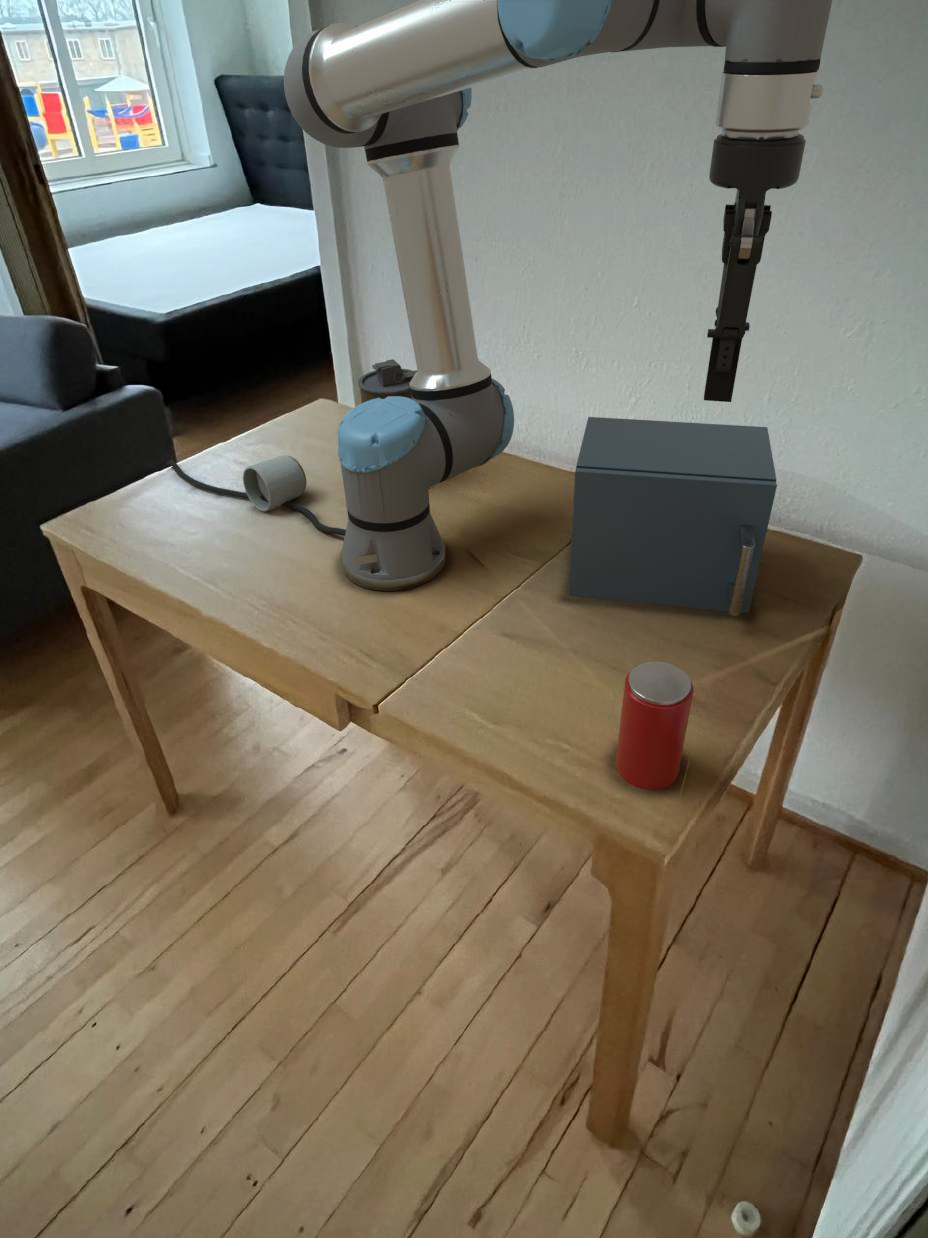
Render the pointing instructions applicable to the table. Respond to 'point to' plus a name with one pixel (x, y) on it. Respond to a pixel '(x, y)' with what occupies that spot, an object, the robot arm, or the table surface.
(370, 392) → the canister
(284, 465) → the ceramic mug
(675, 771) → the can
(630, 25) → the robot arm
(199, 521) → the table surface
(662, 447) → the fridge
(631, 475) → the fridge door
